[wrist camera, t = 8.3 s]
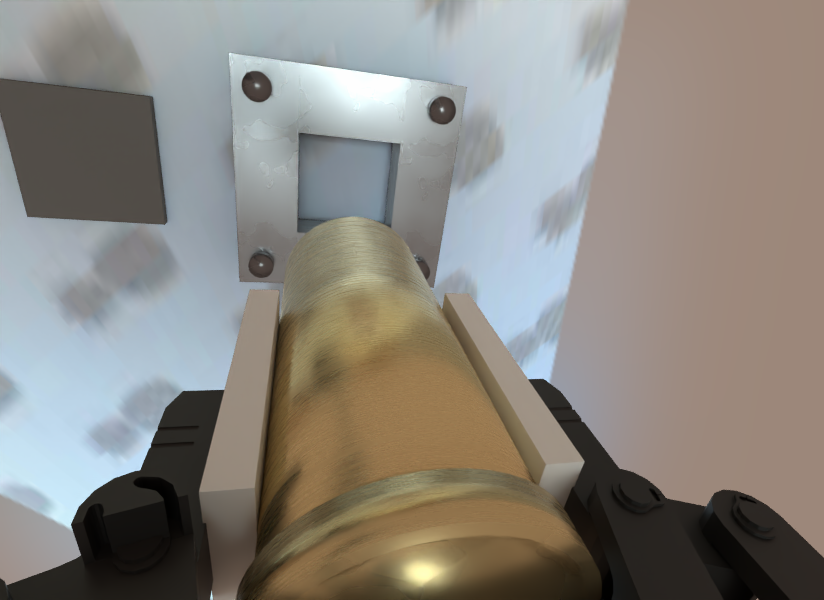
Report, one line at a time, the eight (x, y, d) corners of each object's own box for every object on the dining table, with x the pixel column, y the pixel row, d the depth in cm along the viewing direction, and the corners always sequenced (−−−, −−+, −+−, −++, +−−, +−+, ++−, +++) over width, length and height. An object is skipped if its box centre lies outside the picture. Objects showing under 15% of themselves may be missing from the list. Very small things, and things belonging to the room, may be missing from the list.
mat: (32, 213, 29) (27, 216, 29) (-3, 78, 26) (-9, 78, 25) (167, 221, 31) (164, 224, 30) (152, 96, 27) (149, 96, 27)
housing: (244, 264, 34) (238, 286, 30) (236, 53, 27) (226, 52, 24) (424, 271, 37) (436, 292, 34) (453, 84, 31) (470, 87, 27)
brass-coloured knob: (279, 339, 17) (236, 772, 7) (278, 206, 15) (207, 552, 4) (412, 339, 18) (548, 703, 8) (429, 215, 16) (655, 503, 6)
